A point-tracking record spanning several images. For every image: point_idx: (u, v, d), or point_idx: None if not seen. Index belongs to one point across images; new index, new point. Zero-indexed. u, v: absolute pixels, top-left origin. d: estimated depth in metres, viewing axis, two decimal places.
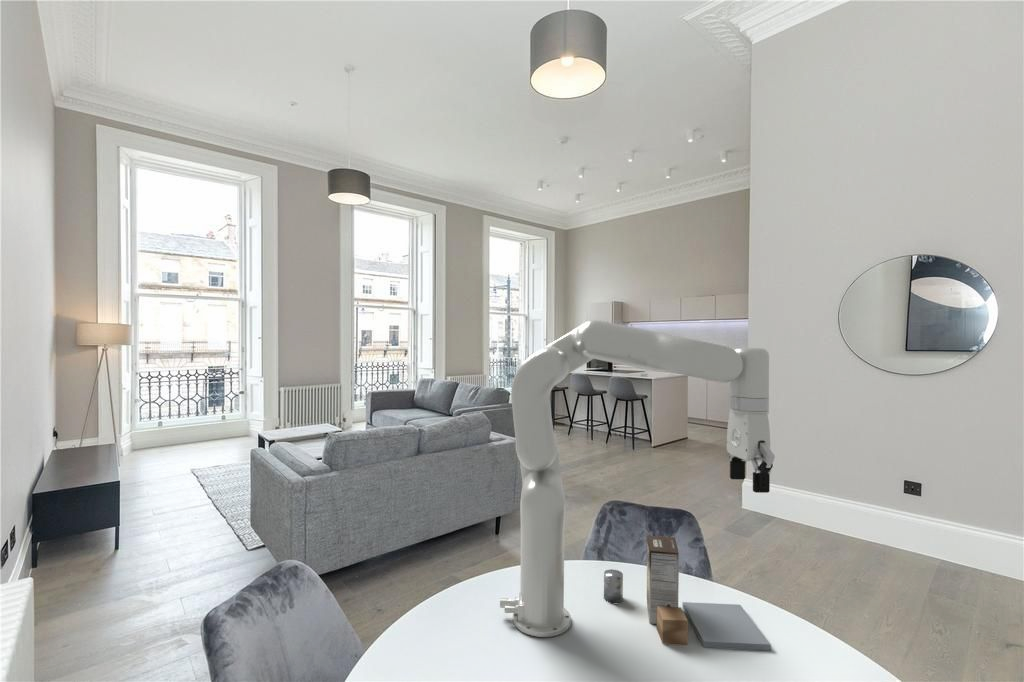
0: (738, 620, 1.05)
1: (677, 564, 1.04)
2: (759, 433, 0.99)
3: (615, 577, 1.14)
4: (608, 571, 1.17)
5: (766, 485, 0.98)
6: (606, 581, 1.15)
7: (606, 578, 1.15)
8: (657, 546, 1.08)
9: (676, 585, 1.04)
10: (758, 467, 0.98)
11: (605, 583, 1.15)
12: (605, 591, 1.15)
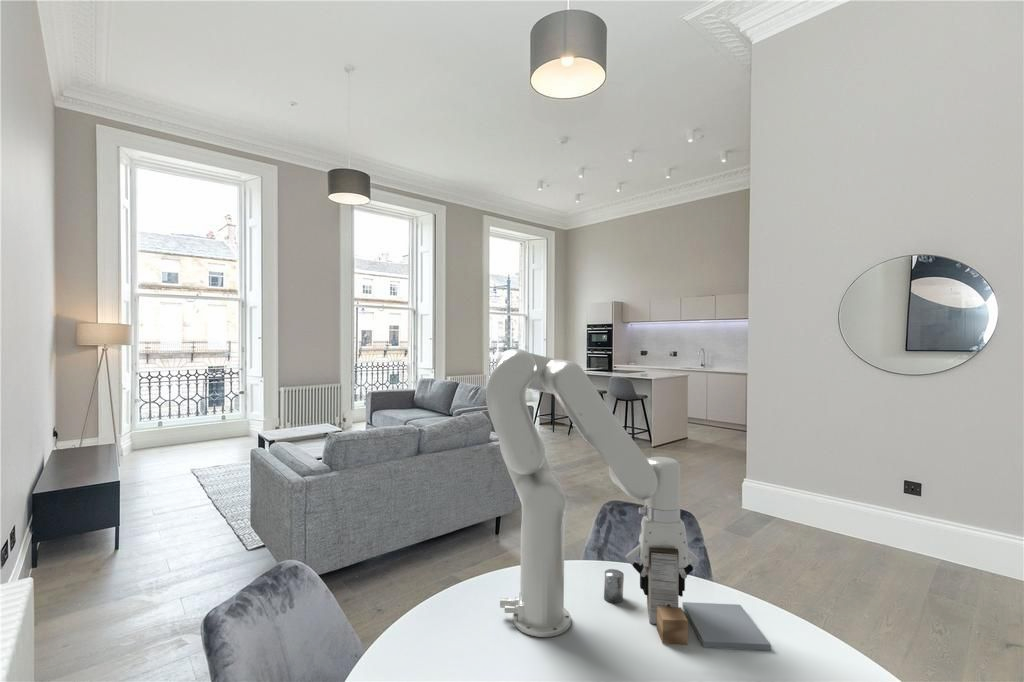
0: (738, 620, 1.05)
1: (677, 564, 1.04)
2: None
3: (616, 577, 1.14)
4: (609, 571, 1.17)
5: None
6: (607, 581, 1.14)
7: (607, 578, 1.14)
8: None
9: (676, 585, 1.04)
10: (685, 573, 1.08)
11: (606, 583, 1.15)
12: (606, 591, 1.15)
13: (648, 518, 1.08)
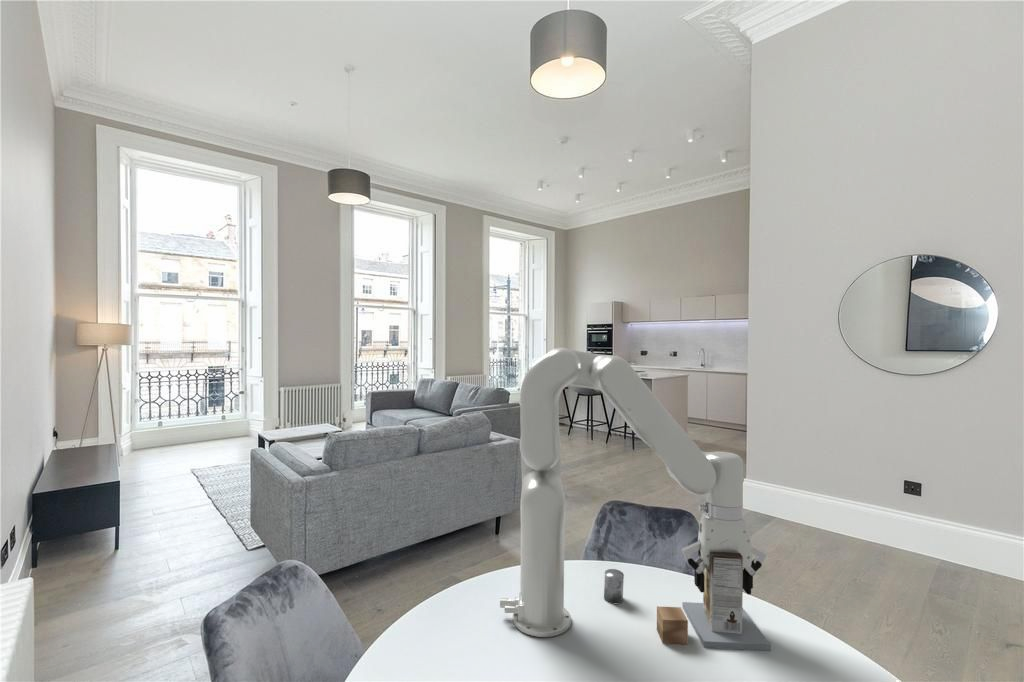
0: None
1: (742, 569, 0.99)
2: None
3: (620, 577, 1.14)
4: (608, 572, 1.15)
5: None
6: (611, 584, 1.13)
7: (611, 581, 1.13)
8: None
9: (740, 591, 0.99)
10: (753, 569, 1.03)
11: (610, 586, 1.14)
12: (609, 593, 1.14)
13: (709, 515, 1.03)
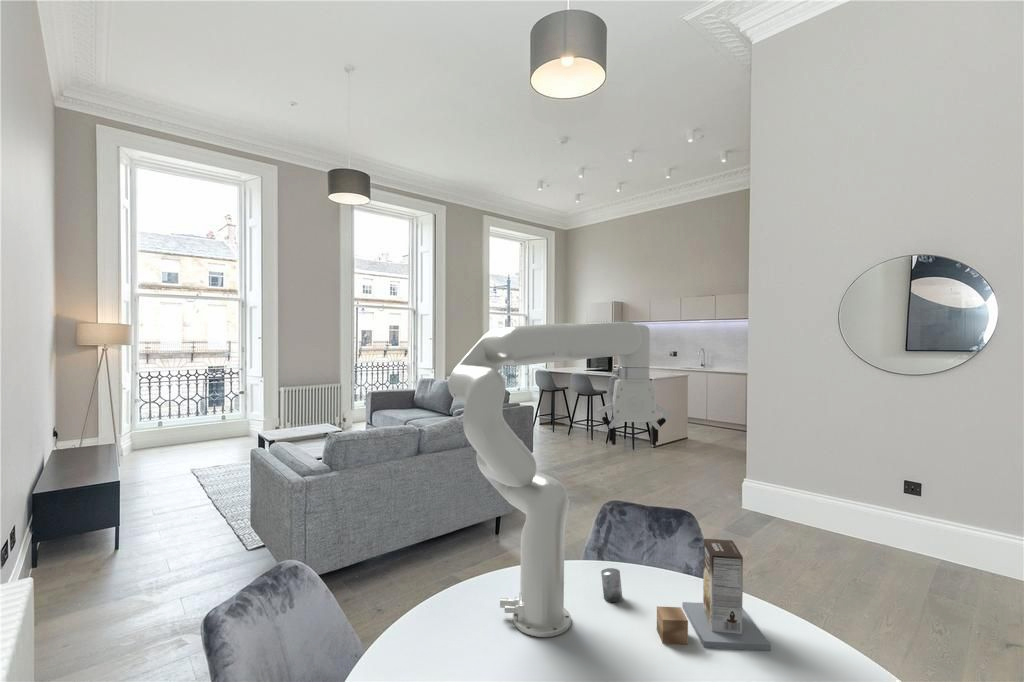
0: None
1: (742, 569, 0.99)
2: None
3: (618, 571, 1.16)
4: (606, 573, 1.15)
5: None
6: (616, 581, 1.14)
7: (615, 577, 1.14)
8: (718, 549, 1.03)
9: (740, 591, 0.99)
10: (658, 424, 1.17)
11: (614, 584, 1.14)
12: (615, 592, 1.14)
13: (620, 377, 1.18)
